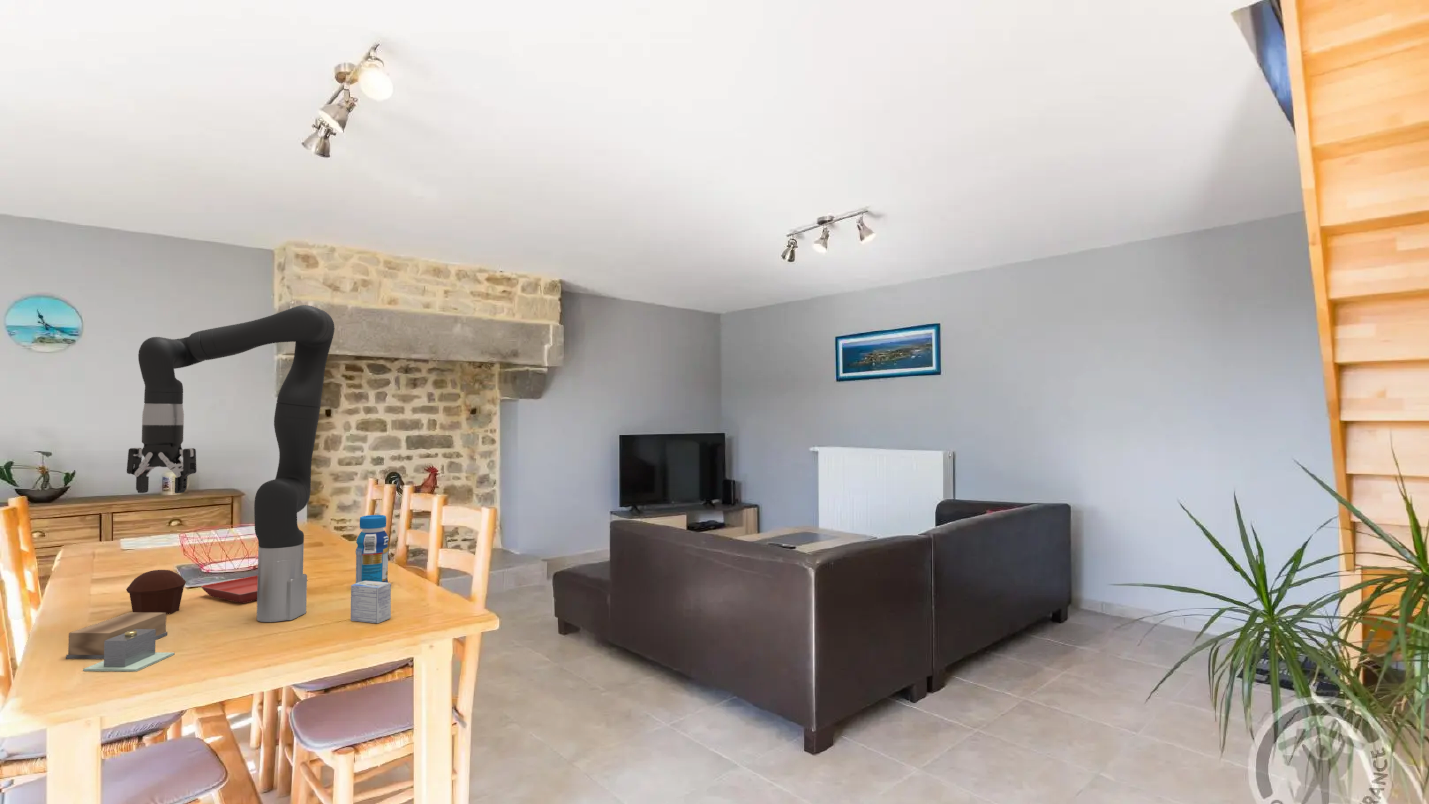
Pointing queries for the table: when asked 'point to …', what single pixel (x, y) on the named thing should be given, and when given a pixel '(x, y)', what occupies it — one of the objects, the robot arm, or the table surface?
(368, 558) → the beverage bottle
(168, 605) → the muffin
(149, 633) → the block with brass knob
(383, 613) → the medicine box
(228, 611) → the table surface
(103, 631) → the body
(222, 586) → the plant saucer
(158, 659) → the mat
